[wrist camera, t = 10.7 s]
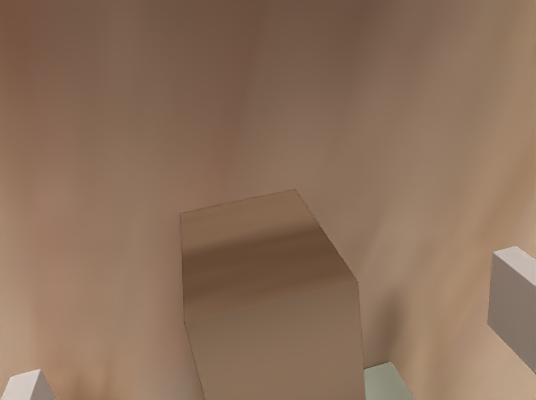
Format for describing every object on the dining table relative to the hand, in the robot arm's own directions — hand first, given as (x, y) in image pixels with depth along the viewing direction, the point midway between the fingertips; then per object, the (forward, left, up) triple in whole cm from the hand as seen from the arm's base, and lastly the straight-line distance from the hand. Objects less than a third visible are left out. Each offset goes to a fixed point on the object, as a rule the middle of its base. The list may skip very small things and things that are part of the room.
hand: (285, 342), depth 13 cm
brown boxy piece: (+3, 0, -4) cm, 5 cm away
